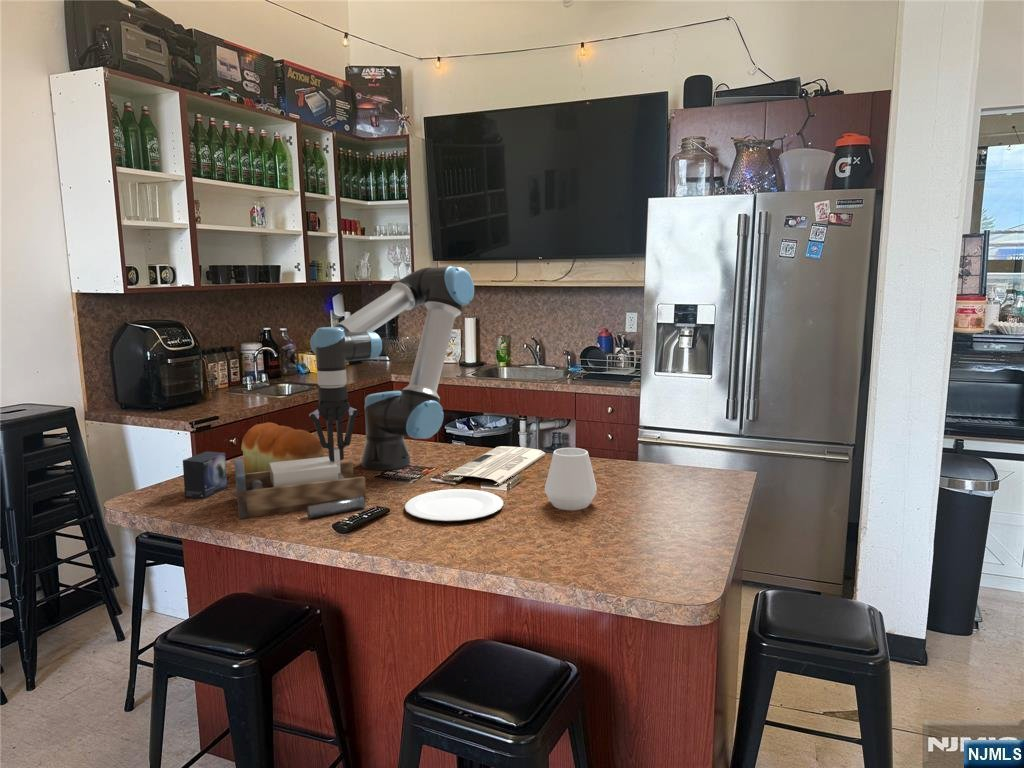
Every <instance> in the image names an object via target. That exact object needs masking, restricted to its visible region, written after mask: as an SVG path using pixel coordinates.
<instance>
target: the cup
mask: <svg viewBox="0 0 1024 768" xmlns="http://www.w3.org/2000/svg"><path fill="white" fill-rule="evenodd" d="M597 489H598V488H597V483H596V480H595V475H594V472H593V465H592V463H591V459H590V456H589V452H588V450H586V449H583V448H579V447H561V448H557V449H555V450H554V451H553V453H552V457H551V461H550V465H549V469H548V474H547V477H546V481H545V485H544V493H545V495H546V497H547V498H548V500H549V501H550V503H551V504H552V506H553V507H555V508H557V509H559V510H565V511H579V510H584V509H586V508H588V507H589V506H590V504H591V502H592V500H593V499H594V498H595V496H596V494H597Z"/></svg>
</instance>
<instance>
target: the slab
mask: <svg viewBox="0 0 1024 768" xmlns="http://www.w3.org/2000/svg"><path fill="white" fill-rule="evenodd" d="M269 465H270V479H271V482H272V485H273V487H280V486H288V485H296V484H305V483H313V482H321V481H330V480H338V466H337V465H336V463H335V462H334V461H330V459H329V455H328V456H322V457H318V458H309V459H300V460H291V461H282V462H272V463H269Z"/></svg>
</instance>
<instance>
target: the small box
mask: <svg viewBox="0 0 1024 768" xmlns="http://www.w3.org/2000/svg"><path fill="white" fill-rule="evenodd" d="M226 464H227V463H226V452H219V451H207V450H206V451H204V452H201V453H199V454H196V455H194V456H190V457H188V458H185V459H183V460H182V469H183V483H184V498H191V499H192V498H194V499H206V498H208V497H210V496H212V495H215V494H216V493H219V492H221V491H223V490H225V489H228V484H227V483H228V481H227V480H228V479H227V465H226Z"/></svg>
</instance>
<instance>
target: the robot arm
mask: <svg viewBox="0 0 1024 768" xmlns="http://www.w3.org/2000/svg"><path fill="white" fill-rule="evenodd" d="M474 295H475V285H474V281H473V279H472V276H471V274H470V272H469V271H468V270H467V269H465V268H463V267H460V266H453V265H452V266H451V265H450V266H444V267H443V266H442V267H441V266H439V267H438V266H437V267H435V266H434V267H423V268H420V269H417V270H415V271H413V272H411V273H409V274H407V275H406V276H404V277H402V278H401V279H399V280H397V281H396V282H394V283H393V284H392V286H391V288H390V290H388V291H386V292H385V293H384V294H381V296H378V297H377V298H376V299H374V300H373V301H371V302H370V303H368V304H366V305H365V306H364V307H362V308H360V309H359V310H356V311H355V312H354V313H353V314H351V315H350V316H348V317H346V318H345V319H343V320H342V321H340V322H338V323H337V324H335V325H333V326H328V327H327V326H326V327H318V328H317V329H316V330H315V332H314V333H313V334H312V335H311V337H310V343H309V345H310V348H311V351H312V352H313V353H314V354H315V361H316V374H317V375H316V377H317V385H318V386H319V387H318V388H317V397H318V404H317V405H316V410H314V411H312V412H309V415H308V416H309V418H310V419H311V420H312V422H313V425H314V427H315V430H316V433H317V437H318V440H319V441H320V443H321V445H322V448H323V449H328V456H329V459H330V461H334V462H335V463H336V465H337V466H338V473H341V470H340V463H341V461H343V460H344V458H345V455H344V450H345V449H344V448H345V447H348V446H350V445H351V441H352V436H353V430H354V427H355V421H356V418H357V417H358V415H359V410H358V409H356V408H353V407H351V404H350V402H349V399H348V398H349V397H348V386H347V385H346V384H347V383H348V381H347V379H348V377H347V362H352V361H363V360H371V359H376V358H377V357H379V356H380V355H381V353H382V350H383V341H382V339H381V337H380V335H379V334H378V333H376V332H375V331H376V330H377V329H379V328H380V327H382V326H384V325H385V324H386V323H388V322H389V321H391V320H392V319H394V318H395V317H397V316H398V315H400V314H401V313H402V312H404V311H410V310H413V309H414V308H416V307H418V306H422V305H424V306H425V308H426V309H427V313H426V317H425V320H424V325H423V329H422V333H421V336H420V340H419V344H418V349H417V353H416V356H415V360H414V363H413V369H412V371H411V376H410V379H409V384H407V386H405V387H404V388H402V390H391V391H383V392H376V393H375V392H374V393H371V394H368V395H366V396H365V398H364V420H365V421H364V423H365V436H366V437H365V438H366V439H365V446H364V449H363V452H362V456H361V467H362V468H364V469H367V470H371V471H372V470H373V471H391V470H396V469H397V470H398V469H402V468H406V467H408V466H409V465H410V464H411V456H410V455H411V454H410V452H409V450H408V448H407V445H406V442H405V438H404V437H408V438H412V439H415V440H417V439H419V440H420V439H423V440H425V439H430V438H432V437H433V436H434V435H436V434H437V433H438V432H439V430H440V429H441V427H442V425H443V421H444V410H443V407H442V405H441V404H440V400H441V397H440V395H439V394H438V387H439V383H440V380H441V375H442V371H443V367H444V363H445V359H446V355H447V351H448V347H449V343H450V339H451V335H452V330H453V328H454V327H453V326H454V323H455V319H456V318H457V317H458V316H461V314H462V313H463V312H462V311H463V307H464V306H467V305H469V304H470V303H471V302H472V300H473V299H474ZM347 413H348V415H349V416H348V419H347V420H348V421H347V424H346V431H345V435H344V429H343V421H344V420H343V419H344V418H345V417H346V414H347ZM319 414H320V415H321V416H322V417H323V418H324V420H325V422H326V423H325V424H326V432H327V433H326V435H327V442H326V439H325V435H324V432H323V428H322V426H321V423H320V420H319V419H320V415H319ZM334 421H335V422H336V424H335V425H336V426H335V427H336V442H337V447H335V444H334V443H335V441H334Z"/></svg>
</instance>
